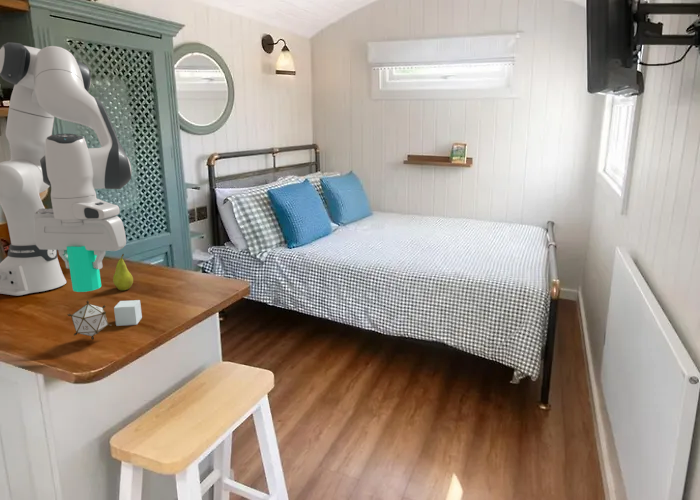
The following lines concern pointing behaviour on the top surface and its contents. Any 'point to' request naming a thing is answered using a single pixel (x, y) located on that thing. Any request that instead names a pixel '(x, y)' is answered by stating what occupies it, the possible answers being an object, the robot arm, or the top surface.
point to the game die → (89, 320)
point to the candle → (83, 269)
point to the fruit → (122, 276)
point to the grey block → (128, 312)
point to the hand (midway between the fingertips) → (84, 268)
